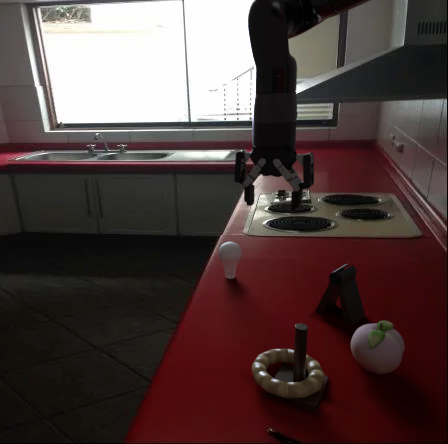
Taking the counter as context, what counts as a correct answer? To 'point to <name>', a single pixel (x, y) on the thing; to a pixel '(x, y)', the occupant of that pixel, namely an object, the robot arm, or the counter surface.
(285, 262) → the counter surface
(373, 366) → the decorative fruit
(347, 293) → the phone stand
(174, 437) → the counter surface
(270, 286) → the counter surface
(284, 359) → the beige segmented ring
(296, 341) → the post
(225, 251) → the lightbulb
